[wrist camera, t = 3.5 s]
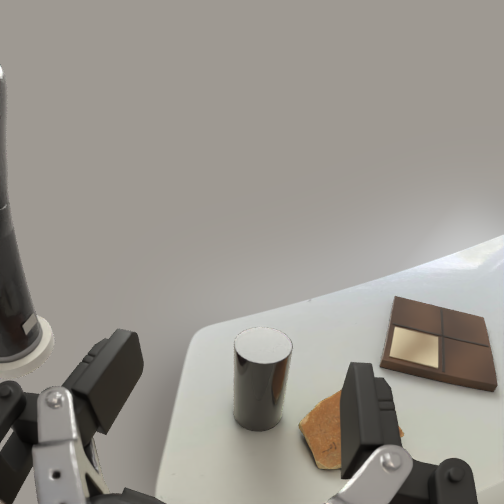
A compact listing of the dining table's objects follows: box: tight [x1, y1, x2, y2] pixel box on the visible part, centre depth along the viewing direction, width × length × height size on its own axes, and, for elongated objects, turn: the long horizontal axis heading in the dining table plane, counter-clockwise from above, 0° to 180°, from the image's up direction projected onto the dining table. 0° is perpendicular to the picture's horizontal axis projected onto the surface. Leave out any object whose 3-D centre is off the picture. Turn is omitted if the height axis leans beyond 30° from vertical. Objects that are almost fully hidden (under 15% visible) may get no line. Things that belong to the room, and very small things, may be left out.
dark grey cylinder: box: [234, 327, 293, 431], centre depth 27 cm, size 5×5×9 cm
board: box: [380, 296, 497, 392], centre depth 37 cm, size 16×16×1 cm
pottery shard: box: [299, 390, 404, 469], centre depth 26 cm, size 10×9×2 cm
